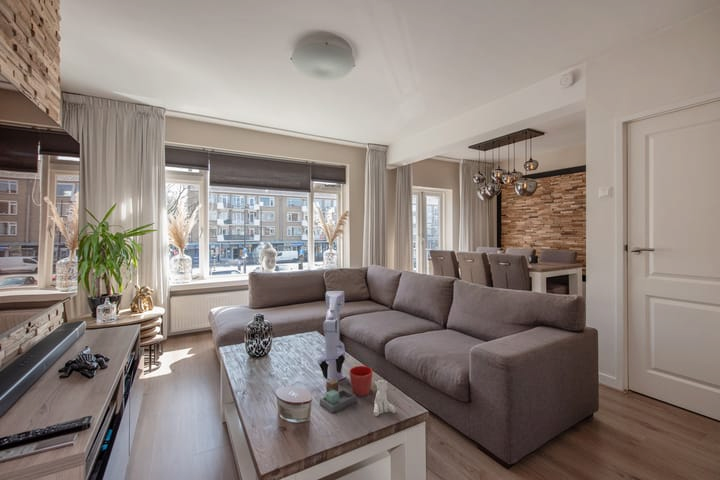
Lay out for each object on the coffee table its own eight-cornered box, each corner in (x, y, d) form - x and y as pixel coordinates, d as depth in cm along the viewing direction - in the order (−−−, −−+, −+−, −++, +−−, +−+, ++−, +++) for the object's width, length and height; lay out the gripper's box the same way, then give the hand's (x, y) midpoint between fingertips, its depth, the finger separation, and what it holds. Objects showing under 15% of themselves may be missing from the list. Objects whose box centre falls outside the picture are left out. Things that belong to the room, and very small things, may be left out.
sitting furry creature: (374, 417, 125) (373, 387, 124) (367, 406, 133) (367, 378, 133) (396, 413, 127) (395, 383, 127) (388, 402, 135) (387, 374, 135)
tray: (319, 404, 135) (319, 398, 135) (343, 394, 143) (343, 388, 143) (332, 413, 128) (332, 407, 128) (356, 401, 137) (356, 395, 137)
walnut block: (326, 392, 146) (326, 381, 146) (333, 389, 148) (333, 378, 148) (331, 395, 143) (331, 384, 143) (338, 392, 145) (338, 381, 145)
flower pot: (353, 399, 139) (352, 377, 139) (347, 387, 149) (347, 367, 149) (376, 395, 142) (375, 373, 141) (368, 384, 152) (368, 364, 152)
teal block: (333, 401, 137) (333, 389, 136) (339, 404, 134) (339, 392, 134) (326, 404, 134) (325, 392, 134) (331, 408, 131) (331, 396, 131)
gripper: (323, 351, 137) (324, 382, 137) (349, 343, 147) (349, 372, 147) (314, 347, 143) (315, 377, 143) (339, 340, 152) (340, 368, 152)
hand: (332, 374), depth 145 cm, fingers open, 7 cm apart
